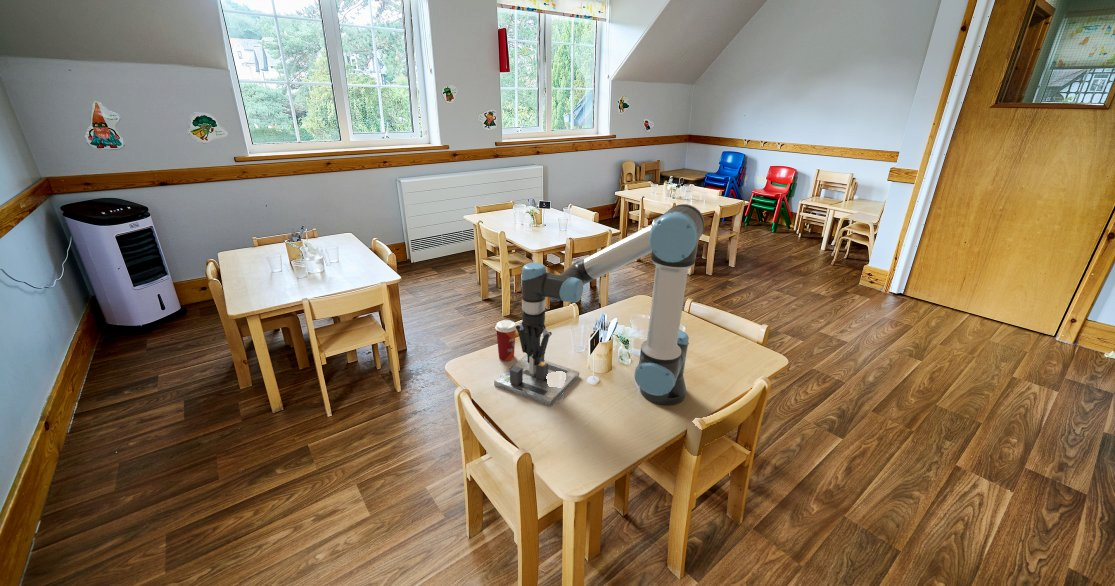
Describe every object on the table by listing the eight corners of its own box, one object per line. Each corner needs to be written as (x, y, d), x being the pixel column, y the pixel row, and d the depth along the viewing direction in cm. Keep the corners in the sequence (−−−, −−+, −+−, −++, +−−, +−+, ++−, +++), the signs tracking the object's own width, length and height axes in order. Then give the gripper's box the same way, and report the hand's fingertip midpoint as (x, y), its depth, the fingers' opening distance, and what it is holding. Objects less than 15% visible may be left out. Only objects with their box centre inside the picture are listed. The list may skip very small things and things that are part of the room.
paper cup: (515, 363, 172) (515, 329, 167) (494, 362, 172) (493, 328, 167) (517, 352, 180) (517, 319, 174) (497, 351, 180) (496, 318, 174)
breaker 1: (522, 381, 158) (522, 368, 156) (517, 385, 156) (517, 372, 154) (515, 378, 160) (515, 365, 158) (510, 382, 157) (509, 369, 155)
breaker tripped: (547, 376, 161) (548, 363, 159) (543, 380, 159) (543, 367, 157) (540, 373, 163) (540, 360, 160) (535, 377, 160) (536, 364, 158)
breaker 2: (544, 361, 169) (544, 349, 167) (539, 365, 167) (539, 353, 165) (537, 359, 171) (537, 347, 169) (532, 363, 168) (532, 351, 166)
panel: (579, 376, 166) (579, 371, 165) (550, 406, 150) (550, 401, 149) (526, 358, 175) (526, 354, 174) (494, 385, 159) (494, 380, 158)
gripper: (556, 310, 153) (555, 372, 162) (523, 301, 158) (523, 361, 168) (544, 319, 147) (543, 382, 156) (510, 309, 152) (511, 371, 162)
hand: (533, 371), depth 162 cm, fingers closed
